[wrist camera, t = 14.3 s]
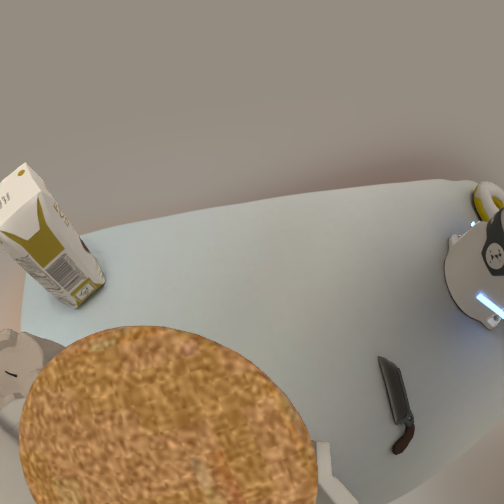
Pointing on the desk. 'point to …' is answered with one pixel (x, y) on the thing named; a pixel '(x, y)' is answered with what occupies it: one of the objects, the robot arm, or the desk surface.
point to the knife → (398, 402)
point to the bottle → (161, 426)
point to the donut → (488, 200)
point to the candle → (22, 362)
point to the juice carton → (45, 239)
